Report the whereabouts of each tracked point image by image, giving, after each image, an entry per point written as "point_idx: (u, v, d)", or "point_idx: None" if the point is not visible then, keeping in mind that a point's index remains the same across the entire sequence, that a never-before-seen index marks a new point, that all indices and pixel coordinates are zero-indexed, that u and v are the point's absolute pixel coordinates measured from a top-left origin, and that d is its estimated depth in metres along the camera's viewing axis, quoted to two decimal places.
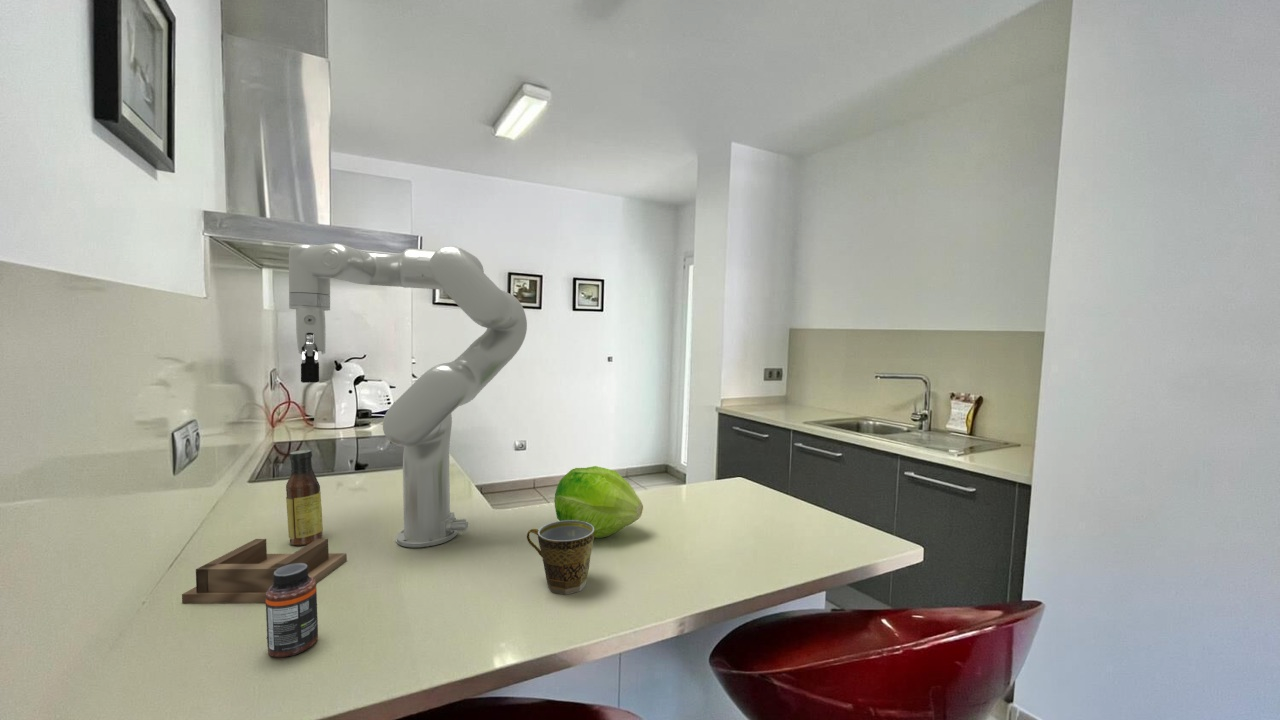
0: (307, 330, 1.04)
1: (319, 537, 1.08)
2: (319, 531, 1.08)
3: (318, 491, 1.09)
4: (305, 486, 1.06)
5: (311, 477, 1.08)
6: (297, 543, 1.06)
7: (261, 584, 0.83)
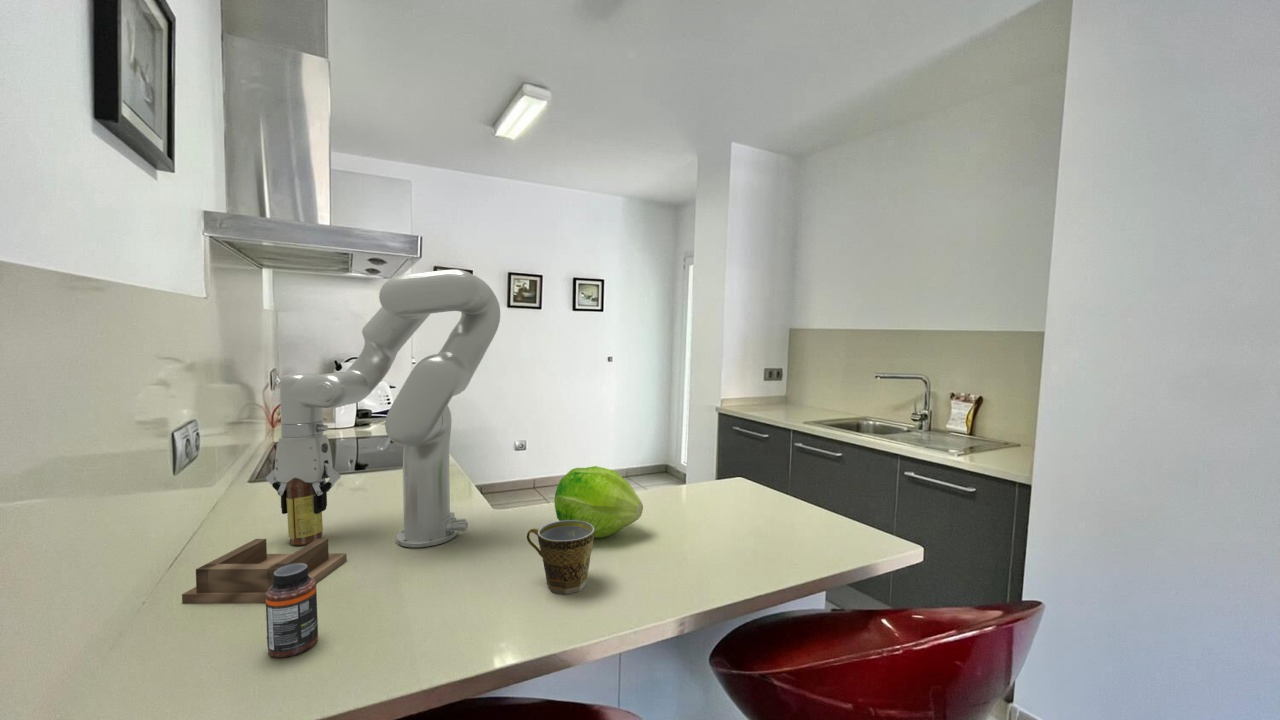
0: (324, 458, 1.08)
1: (319, 537, 1.08)
2: (319, 531, 1.08)
3: None
4: (306, 486, 1.06)
5: None
6: (297, 543, 1.06)
7: (261, 584, 0.83)
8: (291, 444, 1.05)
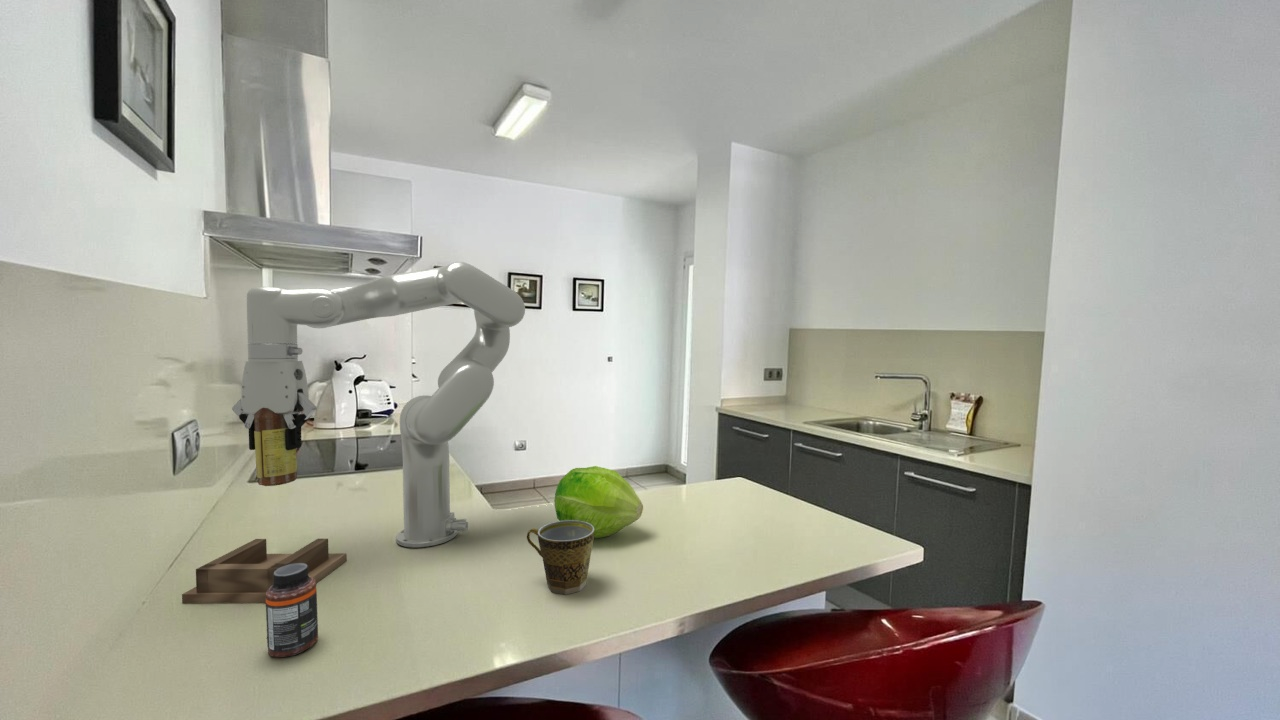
0: (298, 386, 0.93)
1: (292, 478, 0.93)
2: (292, 471, 0.93)
3: None
4: (276, 417, 0.91)
5: None
6: (265, 483, 0.91)
7: (261, 584, 0.83)
8: (259, 367, 0.91)
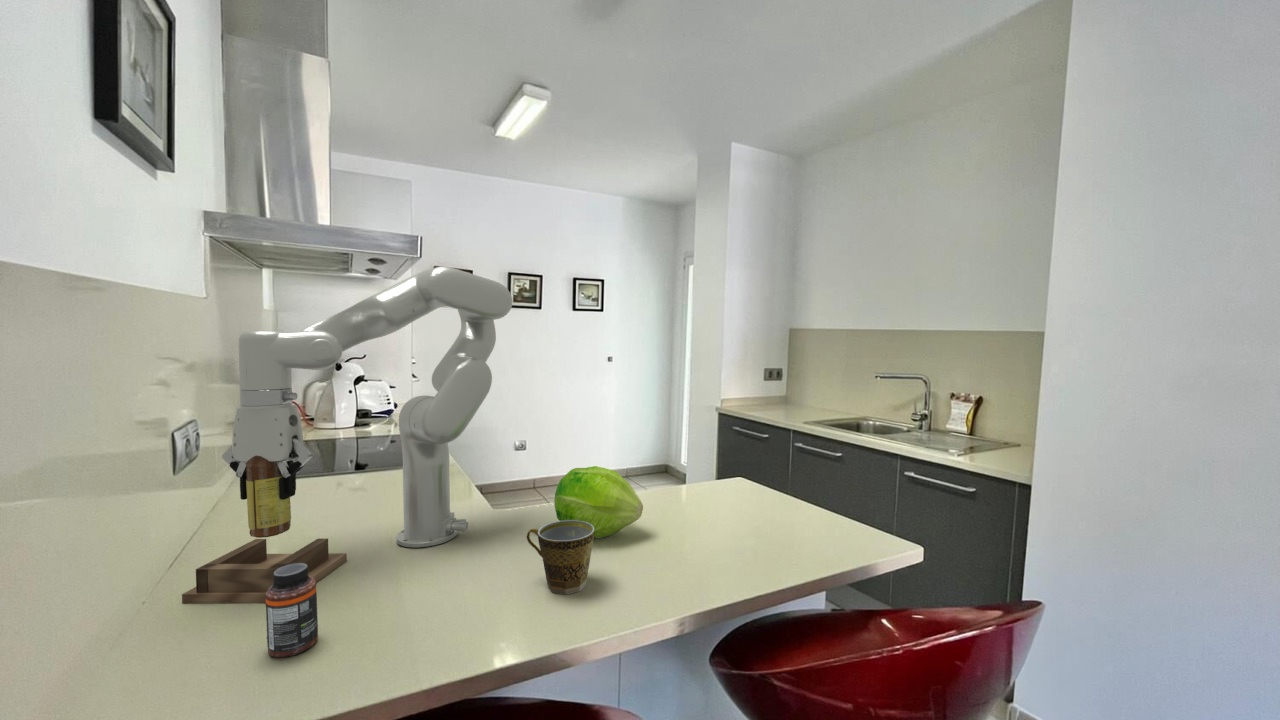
0: (292, 432, 0.89)
1: (286, 528, 0.90)
2: (286, 521, 0.90)
3: None
4: (269, 465, 0.88)
5: None
6: (257, 535, 0.87)
7: (261, 584, 0.83)
8: (251, 414, 0.87)
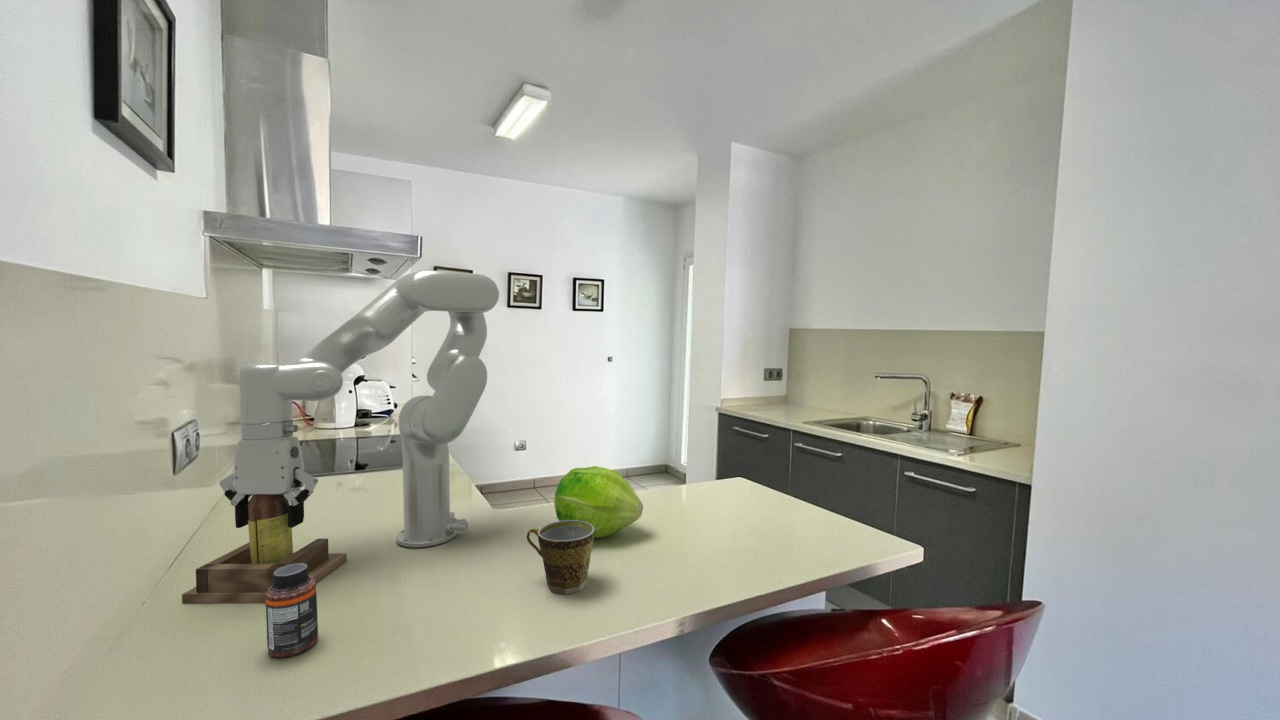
0: (294, 464, 0.89)
1: None
2: None
3: None
4: (271, 505, 0.88)
5: None
6: None
7: (261, 584, 0.83)
8: (253, 448, 0.87)
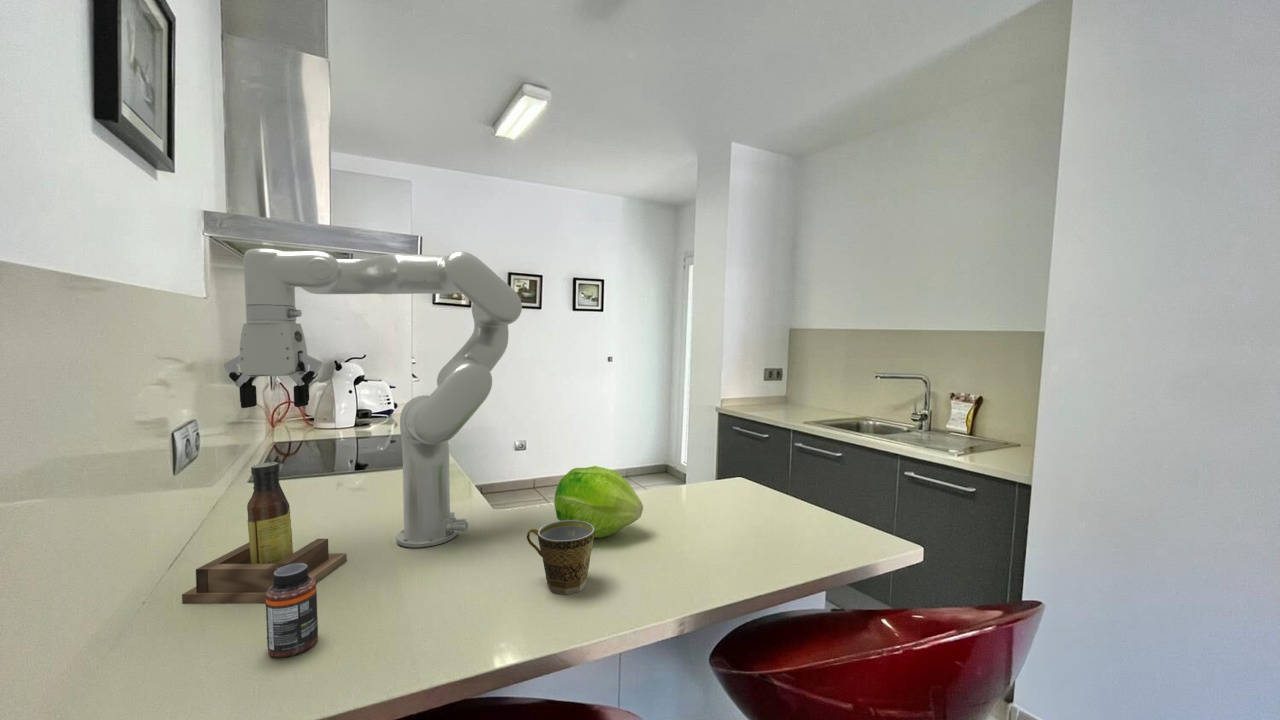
0: (298, 348, 0.93)
1: None
2: None
3: (287, 511, 0.91)
4: (271, 506, 0.88)
5: (278, 495, 0.90)
6: None
7: (261, 584, 0.83)
8: (258, 329, 0.91)
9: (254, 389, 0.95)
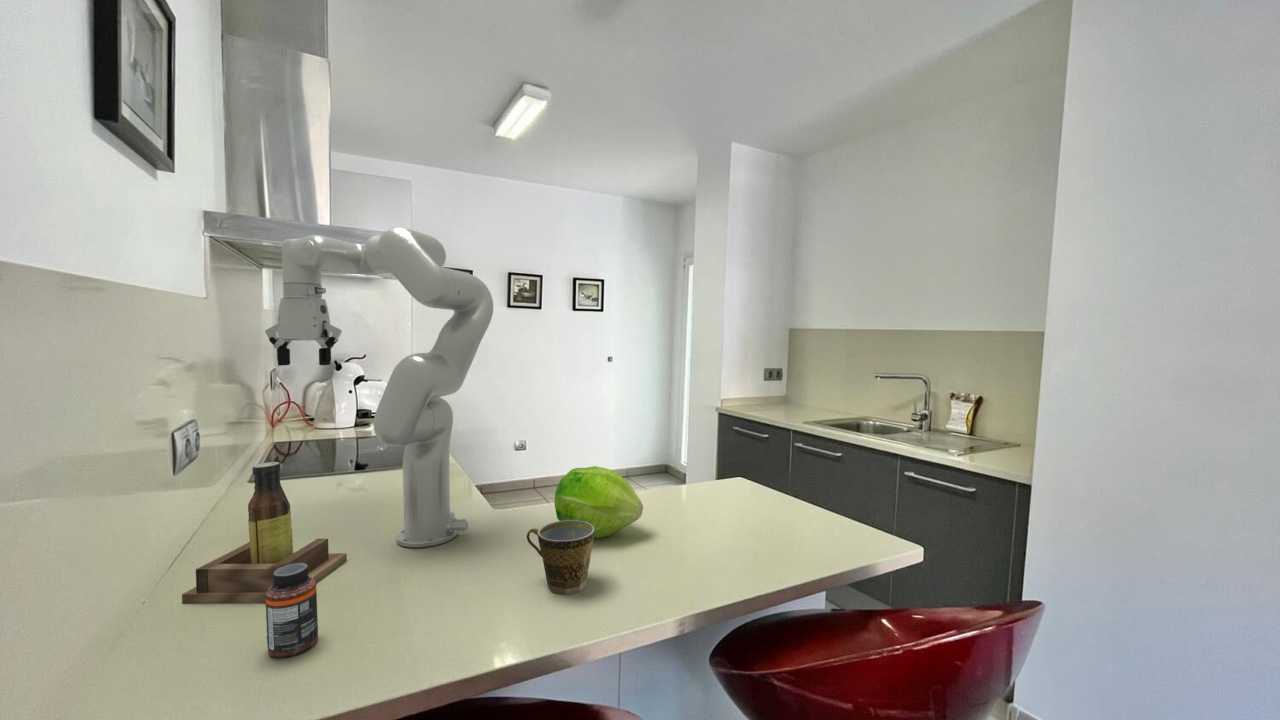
0: (323, 318, 1.17)
1: None
2: None
3: (287, 511, 0.91)
4: (272, 506, 0.88)
5: (279, 495, 0.90)
6: None
7: (261, 584, 0.83)
8: (292, 302, 1.14)
9: (288, 351, 1.18)
